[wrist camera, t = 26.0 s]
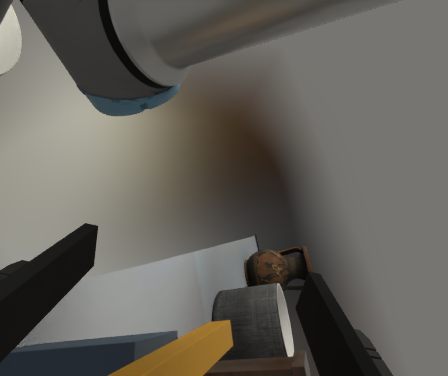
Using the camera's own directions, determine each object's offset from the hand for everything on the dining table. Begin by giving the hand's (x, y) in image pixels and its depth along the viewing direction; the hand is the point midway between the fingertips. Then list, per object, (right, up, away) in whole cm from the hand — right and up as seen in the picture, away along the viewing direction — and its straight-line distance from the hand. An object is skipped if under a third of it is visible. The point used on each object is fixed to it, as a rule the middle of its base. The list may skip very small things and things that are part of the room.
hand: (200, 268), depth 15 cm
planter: (+2, -46, +75) cm, 88 cm away
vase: (+15, -45, +127) cm, 136 cm away
